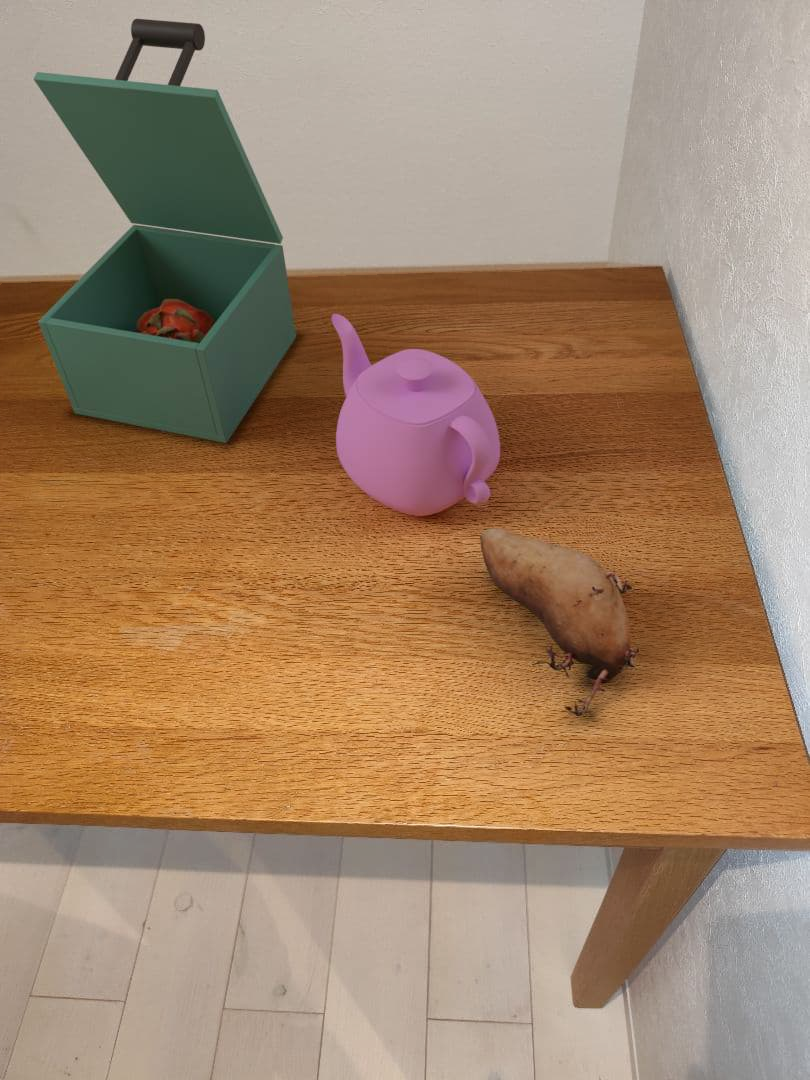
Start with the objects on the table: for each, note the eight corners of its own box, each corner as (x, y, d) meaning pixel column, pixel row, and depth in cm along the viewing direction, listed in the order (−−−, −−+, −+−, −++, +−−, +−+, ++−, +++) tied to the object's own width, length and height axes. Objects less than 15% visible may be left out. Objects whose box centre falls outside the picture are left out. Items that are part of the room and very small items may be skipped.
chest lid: (214, 97, 70) (250, 6, 72) (32, 79, 74) (73, -7, 76) (281, 244, 87) (308, 166, 90) (131, 223, 91) (161, 149, 93)
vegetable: (402, 593, 68) (453, 484, 63) (487, 568, 76) (538, 471, 71) (557, 736, 60) (628, 625, 56) (632, 692, 69) (700, 592, 64)
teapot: (540, 486, 79) (552, 381, 71) (428, 564, 74) (426, 459, 65) (394, 383, 90) (389, 280, 81) (287, 445, 84) (268, 341, 75)
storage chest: (226, 443, 85) (203, 349, 77) (74, 413, 88) (37, 321, 80) (296, 336, 96) (282, 245, 88) (158, 314, 99) (133, 224, 91)
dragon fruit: (205, 423, 88) (167, 375, 96) (258, 355, 87) (215, 311, 95) (135, 380, 82) (101, 332, 90) (191, 306, 81) (151, 264, 89)
